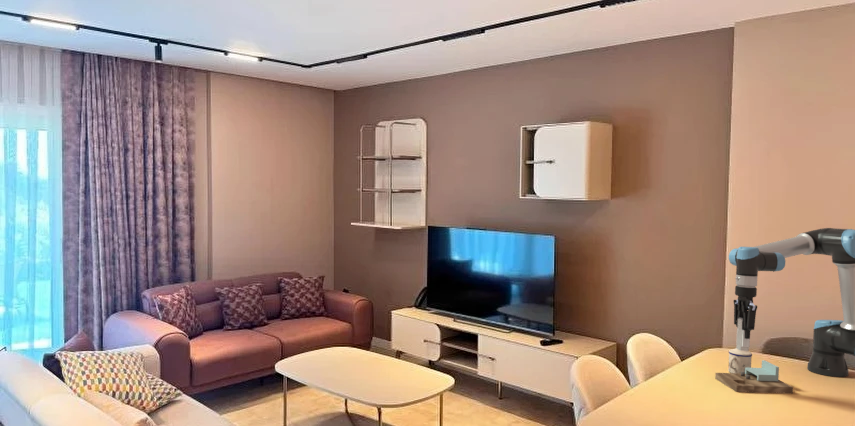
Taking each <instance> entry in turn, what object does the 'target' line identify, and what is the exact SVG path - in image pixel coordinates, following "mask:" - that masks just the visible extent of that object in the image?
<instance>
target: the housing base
mask: <svg viewBox="0 0 855 426" xmlns="http://www.w3.org/2000/svg"><path fill="white" fill-rule="evenodd" d="M714 377H715V380H716V381H718V382H720V383H721V384H723V385H724V386H726V387H728V388H729V389H731V390H732V391H734V392H735V393H754V394H758V393H760V394H790V395H792V394H794V387H793V386H792V385H789V384H787V383H786V382H784V381H782V380H780V379H778V381H758V380H757V376H756V375H755V374H745V372H741V373H730V372H715V375H714Z"/></svg>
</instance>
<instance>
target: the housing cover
mask: <svg viewBox="0 0 855 426" xmlns="http://www.w3.org/2000/svg"><path fill="white" fill-rule="evenodd" d="M779 373H780V367H779V366H777V365H775V364H773V363H771V362H769V361H767V360H763V359H762V360H761V367H751V368H747V367H745V374H755V375H756V376H757V380H758V381H778V380H779V376H780V375H779Z"/></svg>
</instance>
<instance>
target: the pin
mask: <svg viewBox="0 0 855 426" xmlns="http://www.w3.org/2000/svg"><path fill="white" fill-rule="evenodd" d="M742 329H744V317H739V318H738V327H737V329H736V342H737V344H736V346H735V348H736V349H738V350H740V351H749V349H750V346H749V347H742ZM749 352H750V351H749Z"/></svg>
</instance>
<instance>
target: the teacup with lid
mask: <svg viewBox="0 0 855 426" xmlns="http://www.w3.org/2000/svg"><path fill="white" fill-rule="evenodd" d="M752 357H753V353H752V352H751V351H740V350H738V349H736V347H735V348H733V349H732V348H731V349H729V350H728V370H727V371H728V373H741V372H745V367H747V368H752Z"/></svg>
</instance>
